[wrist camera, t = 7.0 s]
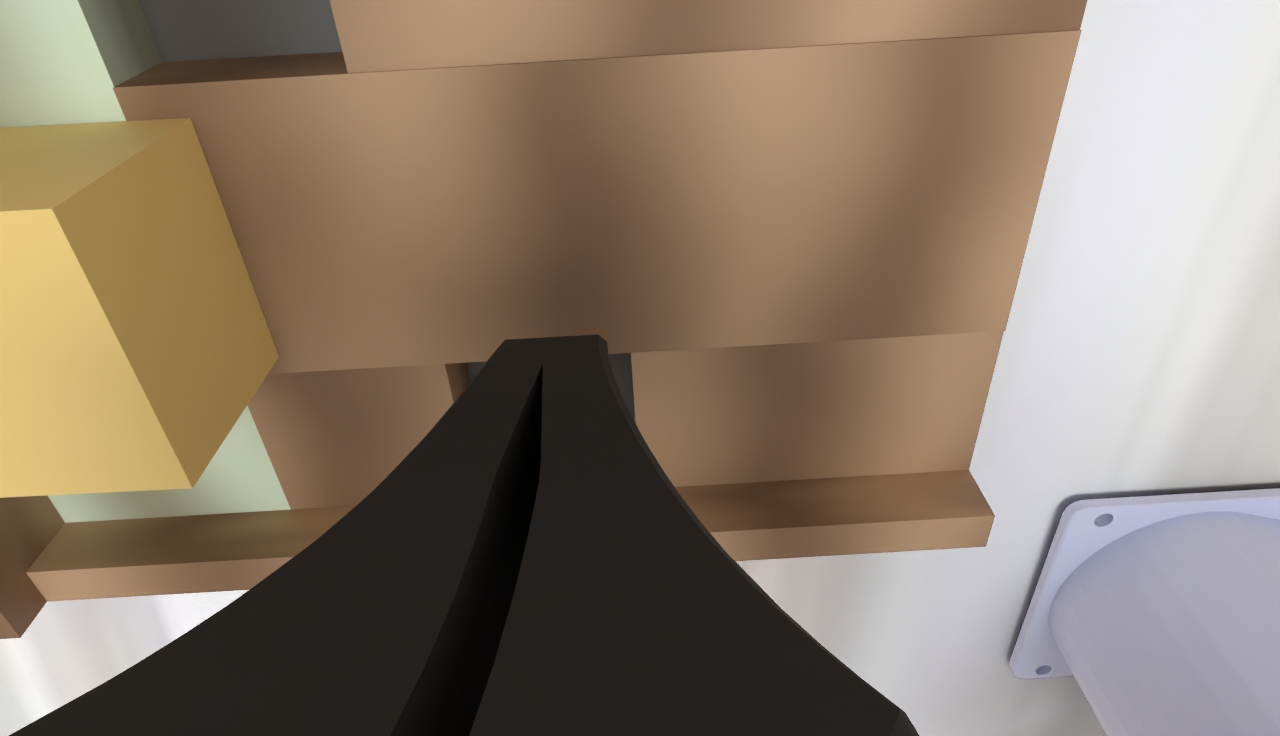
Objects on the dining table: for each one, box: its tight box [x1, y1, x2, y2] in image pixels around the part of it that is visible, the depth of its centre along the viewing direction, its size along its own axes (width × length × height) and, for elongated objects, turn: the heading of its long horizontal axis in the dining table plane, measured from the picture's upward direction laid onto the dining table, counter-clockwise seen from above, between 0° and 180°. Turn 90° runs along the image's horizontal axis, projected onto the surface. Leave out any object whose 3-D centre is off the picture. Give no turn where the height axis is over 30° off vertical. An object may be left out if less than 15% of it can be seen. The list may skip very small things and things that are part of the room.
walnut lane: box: [0, 0, 1087, 639], centre depth 15 cm, size 23×16×4 cm
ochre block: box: [0, 118, 279, 498], centre depth 13 cm, size 5×5×4 cm
